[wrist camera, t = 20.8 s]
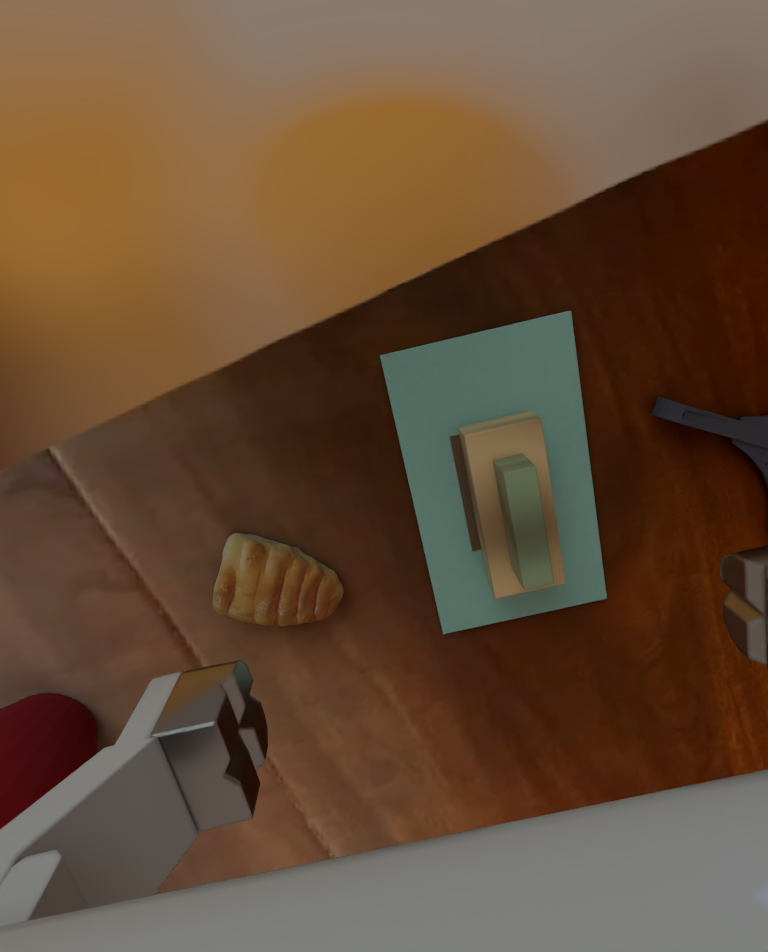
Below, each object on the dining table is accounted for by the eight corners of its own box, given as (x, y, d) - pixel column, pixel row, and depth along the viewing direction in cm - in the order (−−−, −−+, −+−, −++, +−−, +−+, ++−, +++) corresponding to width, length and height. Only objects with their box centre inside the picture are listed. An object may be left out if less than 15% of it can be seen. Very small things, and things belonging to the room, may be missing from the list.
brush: (454, 423, 40) (472, 447, 33) (525, 406, 39) (557, 427, 33) (484, 574, 43) (505, 622, 37) (549, 560, 43) (581, 606, 37)
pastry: (352, 550, 43) (351, 574, 39) (333, 627, 45) (330, 656, 41) (227, 524, 42) (214, 546, 38) (213, 603, 44) (199, 631, 40)
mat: (379, 355, 39) (379, 356, 38) (568, 310, 38) (571, 311, 38) (442, 630, 45) (443, 635, 45) (603, 594, 45) (607, 599, 44)
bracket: (691, 300, 38) (715, 300, 36) (881, 361, 40) (918, 366, 37) (608, 495, 42) (624, 508, 40) (784, 543, 44) (811, 559, 41)
